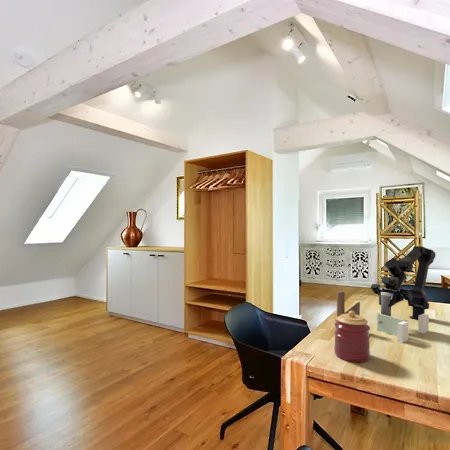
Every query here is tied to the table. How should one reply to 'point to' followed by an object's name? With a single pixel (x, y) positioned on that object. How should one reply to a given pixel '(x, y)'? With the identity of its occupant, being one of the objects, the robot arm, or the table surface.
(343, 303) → the toy block tower
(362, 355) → the canister
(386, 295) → the post
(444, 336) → the table surface
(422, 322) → the wall frame
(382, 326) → the door
